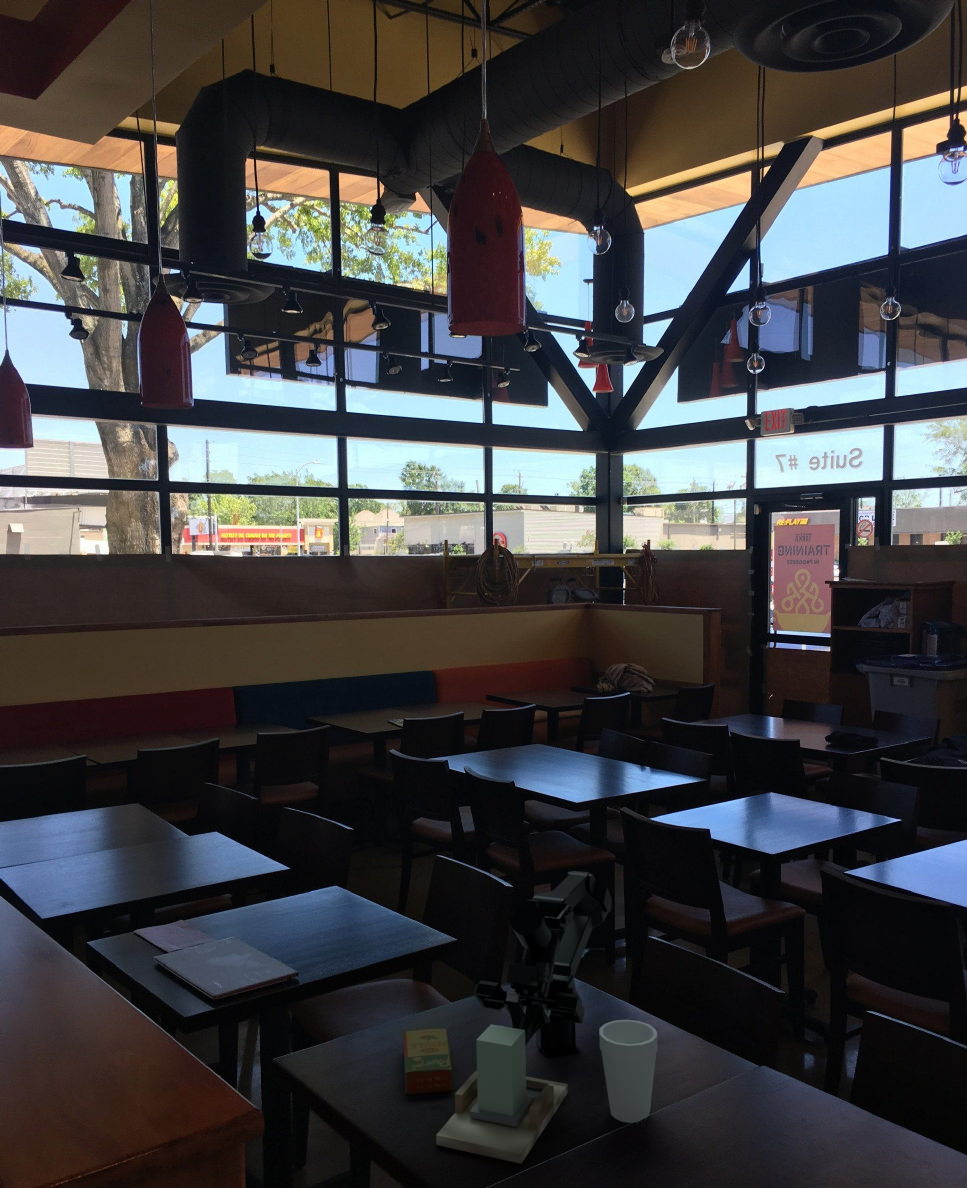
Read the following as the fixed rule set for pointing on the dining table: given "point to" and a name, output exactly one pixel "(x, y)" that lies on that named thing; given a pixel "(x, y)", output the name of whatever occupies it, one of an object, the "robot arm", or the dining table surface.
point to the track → (496, 1136)
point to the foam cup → (629, 1067)
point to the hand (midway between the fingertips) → (517, 1051)
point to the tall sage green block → (501, 1076)
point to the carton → (427, 1061)
